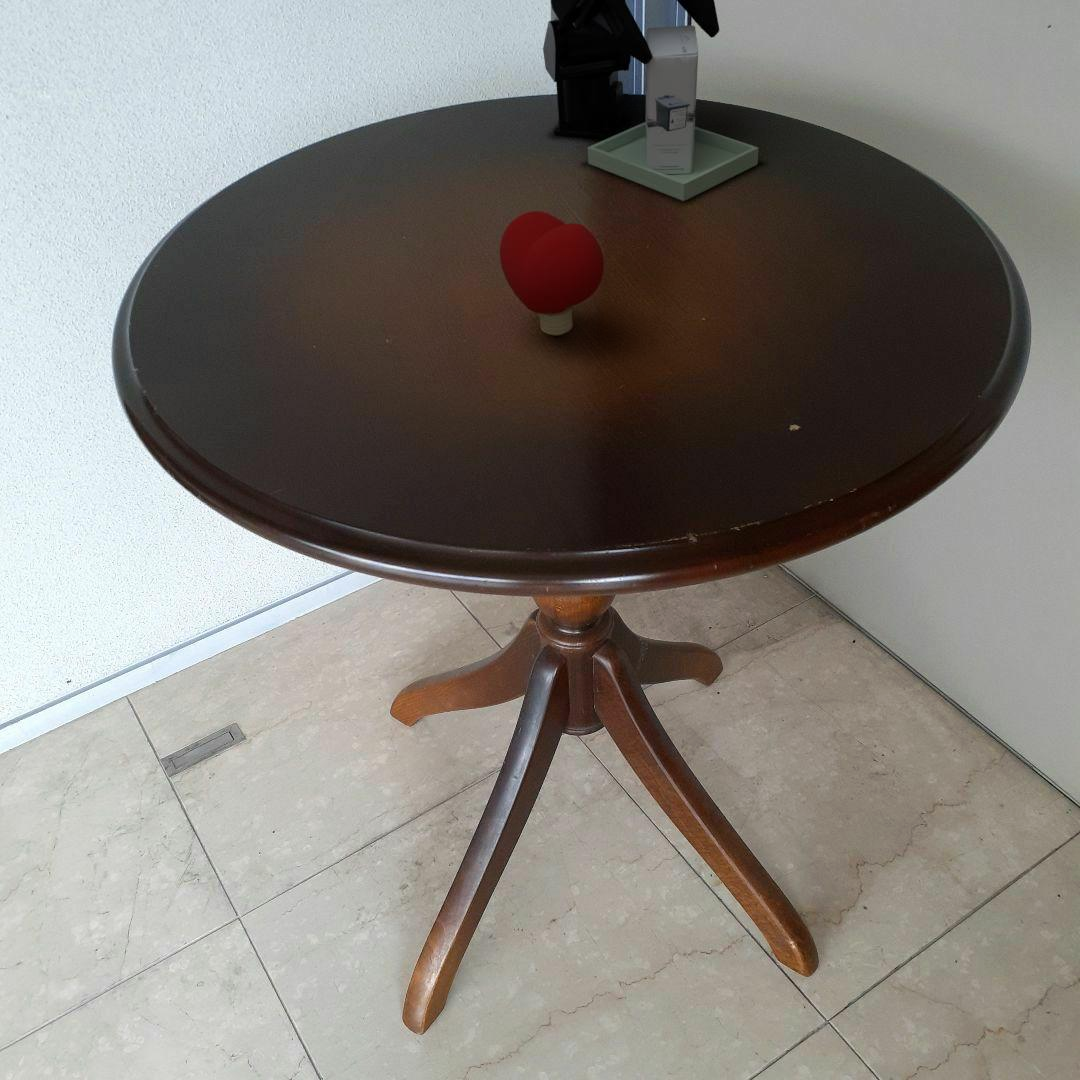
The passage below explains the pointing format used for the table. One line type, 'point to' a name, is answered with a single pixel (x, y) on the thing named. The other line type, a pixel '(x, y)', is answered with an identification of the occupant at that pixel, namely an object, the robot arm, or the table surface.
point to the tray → (710, 167)
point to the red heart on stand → (550, 267)
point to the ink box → (671, 99)
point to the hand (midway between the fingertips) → (683, 47)
